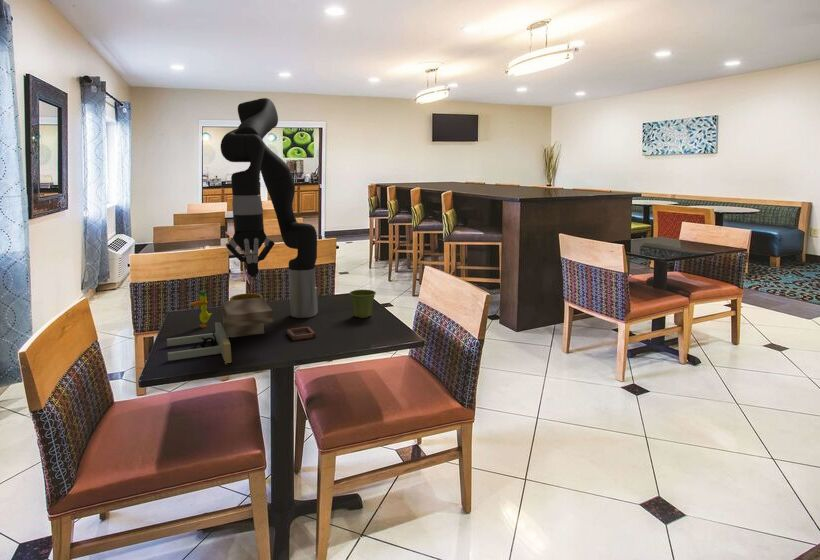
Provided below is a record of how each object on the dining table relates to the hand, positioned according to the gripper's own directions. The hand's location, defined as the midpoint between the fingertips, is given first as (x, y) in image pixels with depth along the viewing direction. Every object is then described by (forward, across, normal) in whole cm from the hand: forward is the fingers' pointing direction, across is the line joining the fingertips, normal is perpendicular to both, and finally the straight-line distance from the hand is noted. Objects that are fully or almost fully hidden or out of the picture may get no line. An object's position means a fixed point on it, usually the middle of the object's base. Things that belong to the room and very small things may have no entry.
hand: (252, 276), depth 136 cm
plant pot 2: (+24, -41, -24) cm, 54 cm away
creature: (+23, +14, -10) cm, 28 cm away
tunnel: (+23, +1, -12) cm, 26 cm away
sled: (+22, +15, -7) cm, 28 cm away
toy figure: (+23, +12, -35) cm, 44 cm away
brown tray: (+23, -15, -12) cm, 30 cm away
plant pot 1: (+23, -2, -31) cm, 39 cm away
